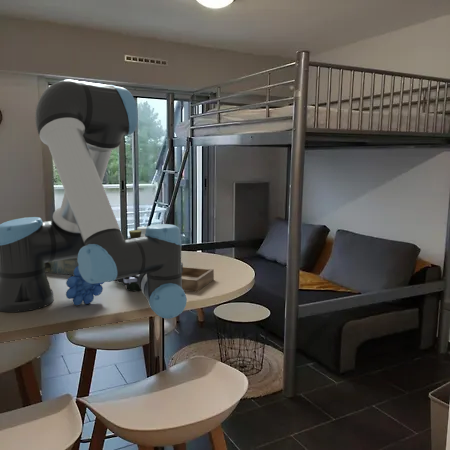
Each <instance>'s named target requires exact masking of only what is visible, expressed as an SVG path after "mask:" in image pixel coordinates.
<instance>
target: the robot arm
mask: <svg viewBox="0 0 450 450" xmlns="http://www.w3.org/2000/svg"><path fill="white" fill-rule="evenodd" d="M34 113H35V117H34V119H35V128H36V131H37V133H38V136H39V139H40V141H41V142H42V143H43V144H44V145H46V146H47V147H48V149H49V152H50V154H51V157H52V160H53V164H54V165H55V168H56V170H57V174H58V176H59V179H60V181H61V184H62V187H63V191H64V194H63V198H62V201H61V206H60V207H59V208H57V209H56V210H54V211H53V213H52V218H51V220H46V221H44V220H42V218H41V217H38V216H28V217H21V218H20V217H19V218H15V219H10V220H8V221H5V222H2V223H0V312H3V313H4V312H5V313H17V312H18V313H19V312H27V311H33V310H38V309H42V308H43V307H46V306H48V305H50V304H52V303H53V301H54V291H53V288H51V285H50V283H49V279H48V277H47V274H46V272H45V263H46V262H52V261H59V260H66V259H72V258H77V260H78V264H79V267H78V269H79V272H80V274H81V276H82V278H83V279H84V280H85V281H86V282H88V283H91V284H95V283H103V282H104V283H111V282H116V283H119V284H122V285H123V286H124V287H126V286H129V285H130V282H134V283H137V284H138V285H139V287H140V289H141V293H142V294H143V296H144V297H145V298H146V300H147V302H148V304H149V307H150V309H151V310H152V312H154V313H155V315H157V316H158V317H159V318H163V319H167V320H168V319H174V318H176V317H178V316H180V315H181V314H182V313H183V312H184V310H185V309H186V306H187V301H188V300H187V294H186V293H185V290H183V289H182V274H181V273H182V272H183V267H184V263H183V262H182V246H183V244H182V234H181V229H180V227H179V226H177V225H175V224H168V223H157V224H151V225H148V226H146V227H147V228H146V233H145V237H140V238H133V239H127V238H126V239H125V238H124V235H123V233H122V230H121V228H120V226H119V223H118V221H117V219H116V216H115V213H114V210H113V207H112V205H111V204H110V200H109V198H108V196H107V193H106V189H105V188H104V185H103V180H104V177H105V175H106V171H107V167H108V165H109V161H110V158H111V155H112V151H113V150H115V149H118V148H119V147H120V146H121V143H122V141H123V137H124V136H125V137H126V136H127V137H128V136H130V135H132V134H133V133H134V132H135V131H136V129H137V126H138V121H139V113H138V106H137V103H136V100H135V97H134V96H133V94H132V93H131V91H129V90H128V89H126V87H125V88H124V87H121V86H116V85H114V84H103V83H95V82H88V81H79V80H76V79H75V80H74V79H64V80H59V81H57V82H54V83H53V84H51V85H49V86H48V87H47V88H46V89H45V90H44V92H43V93H42V94H41V96H40V97H39V99H38V102H37V105H36V108H35V112H34ZM104 283H103V284H104Z"/></svg>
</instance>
